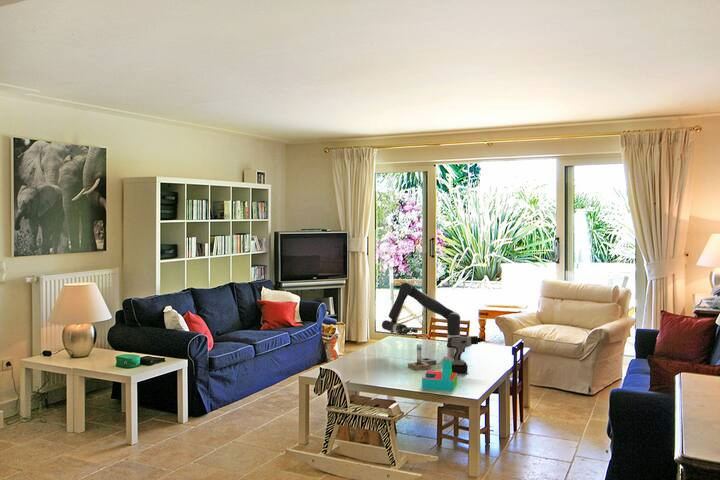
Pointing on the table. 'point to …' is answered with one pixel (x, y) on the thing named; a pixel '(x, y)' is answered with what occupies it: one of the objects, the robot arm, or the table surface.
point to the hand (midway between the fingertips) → (411, 332)
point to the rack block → (419, 366)
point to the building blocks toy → (441, 377)
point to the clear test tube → (419, 354)
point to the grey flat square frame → (428, 360)
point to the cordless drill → (461, 351)
